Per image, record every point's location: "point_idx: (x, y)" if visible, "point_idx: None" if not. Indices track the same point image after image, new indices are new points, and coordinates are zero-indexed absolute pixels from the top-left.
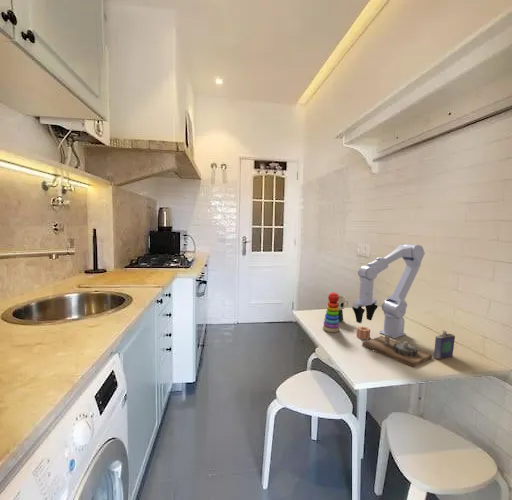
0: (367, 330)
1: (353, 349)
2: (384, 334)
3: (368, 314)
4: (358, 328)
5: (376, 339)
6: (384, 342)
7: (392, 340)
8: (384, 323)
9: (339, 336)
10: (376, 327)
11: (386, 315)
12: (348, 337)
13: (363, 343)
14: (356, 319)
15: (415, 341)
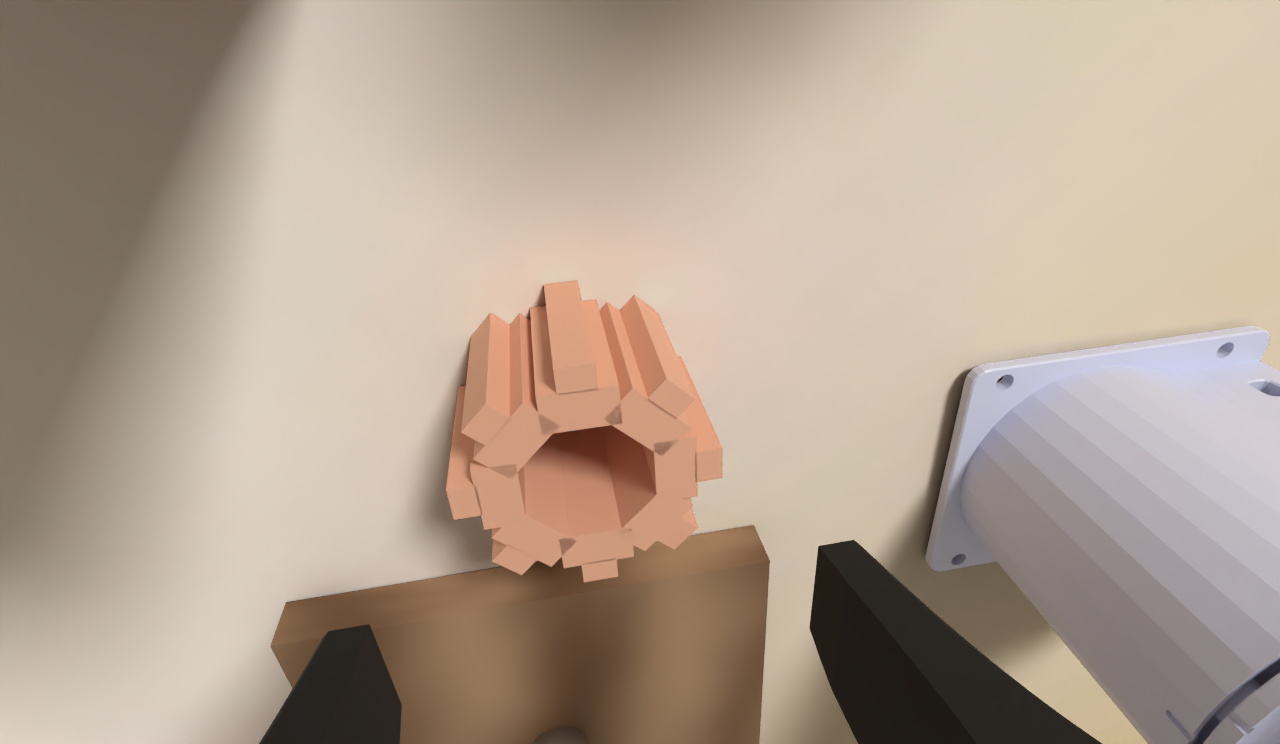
0: (580, 564)
1: (58, 645)
2: (950, 445)
3: (896, 703)
4: (481, 445)
5: (581, 622)
6: (594, 701)
7: (749, 681)
8: (1120, 520)
9: (81, 176)
10: (1217, 151)
11: (1249, 728)
12: (274, 298)
13: (278, 652)
14: (293, 704)
15: (1015, 657)
